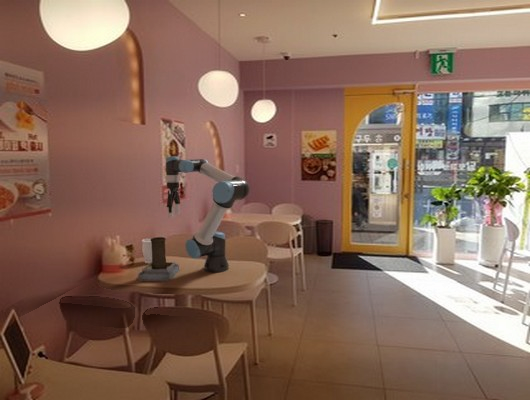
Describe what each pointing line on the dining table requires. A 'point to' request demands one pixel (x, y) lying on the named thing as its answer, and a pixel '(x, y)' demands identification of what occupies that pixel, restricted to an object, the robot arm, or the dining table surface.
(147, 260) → the jar
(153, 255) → the container
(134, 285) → the dining table surface
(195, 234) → the robot arm
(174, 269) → the grey tray
